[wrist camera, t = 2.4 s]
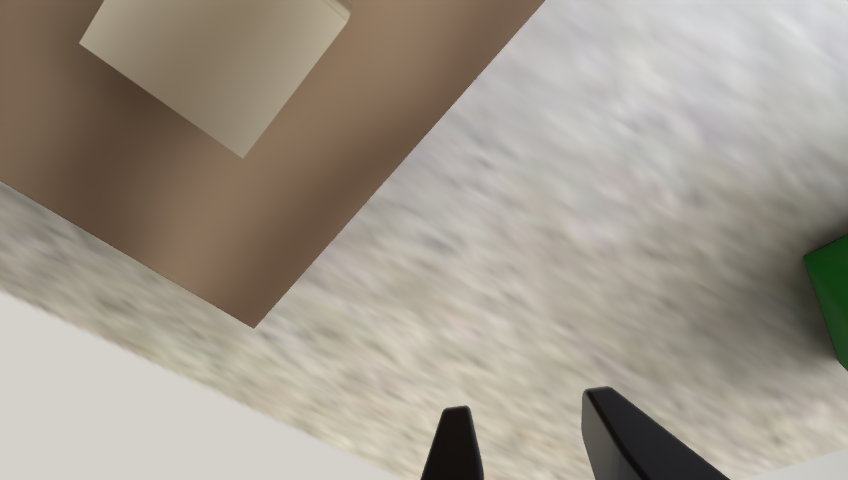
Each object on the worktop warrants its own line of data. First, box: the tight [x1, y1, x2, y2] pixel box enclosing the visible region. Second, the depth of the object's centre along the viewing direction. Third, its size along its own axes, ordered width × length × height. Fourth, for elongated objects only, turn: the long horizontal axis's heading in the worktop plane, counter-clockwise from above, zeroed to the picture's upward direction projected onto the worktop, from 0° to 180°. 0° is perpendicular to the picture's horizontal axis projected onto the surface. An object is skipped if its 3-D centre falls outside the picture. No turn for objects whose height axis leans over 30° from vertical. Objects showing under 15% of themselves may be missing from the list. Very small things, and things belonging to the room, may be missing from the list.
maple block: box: [79, 0, 354, 159], centre depth 14 cm, size 4×4×4 cm
